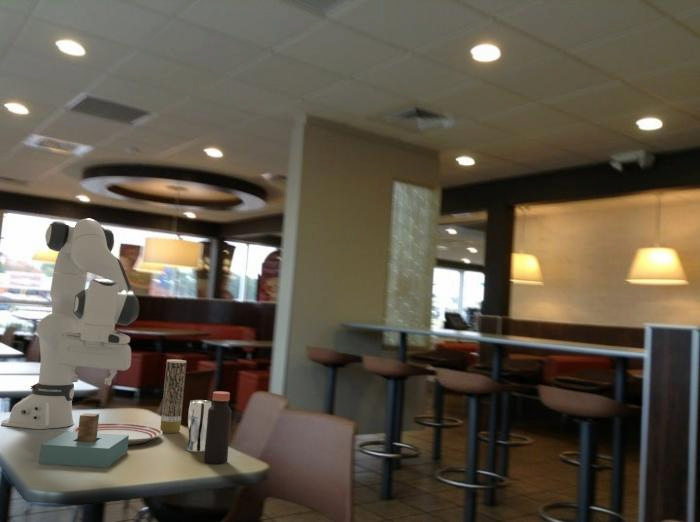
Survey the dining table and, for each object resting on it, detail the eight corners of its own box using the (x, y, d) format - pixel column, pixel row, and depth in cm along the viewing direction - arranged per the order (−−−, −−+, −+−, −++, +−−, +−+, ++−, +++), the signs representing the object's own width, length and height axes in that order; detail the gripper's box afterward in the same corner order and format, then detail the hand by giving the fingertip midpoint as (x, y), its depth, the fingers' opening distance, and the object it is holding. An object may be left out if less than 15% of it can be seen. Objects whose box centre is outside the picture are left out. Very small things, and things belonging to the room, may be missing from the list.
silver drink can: (187, 447, 195) (191, 399, 196) (209, 448, 196) (213, 400, 197) (183, 452, 188) (187, 402, 189) (206, 453, 189) (210, 403, 190)
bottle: (207, 458, 183) (213, 390, 185) (229, 459, 183) (235, 392, 184) (200, 463, 176) (207, 393, 178) (224, 465, 176) (230, 394, 178)
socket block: (38, 463, 164) (40, 444, 165) (65, 448, 182) (67, 431, 182) (106, 467, 165) (108, 448, 165) (127, 452, 183) (128, 435, 183)
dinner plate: (138, 428, 219) (139, 419, 219) (177, 444, 199) (178, 433, 200) (58, 435, 199) (59, 425, 200) (93, 453, 180) (94, 441, 180)
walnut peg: (75, 458, 171) (79, 415, 172) (80, 455, 175) (85, 413, 176) (89, 459, 172) (94, 416, 173) (94, 456, 176) (99, 413, 177)
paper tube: (182, 431, 219) (189, 360, 221) (175, 434, 212) (182, 361, 214) (164, 429, 220) (171, 359, 222) (156, 432, 213) (163, 360, 215)
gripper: (56, 331, 173) (49, 381, 172) (129, 338, 174) (122, 388, 172) (65, 331, 179) (58, 378, 178) (135, 337, 180) (129, 385, 179)
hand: (90, 383), depth 175 cm, fingers open, 8 cm apart
